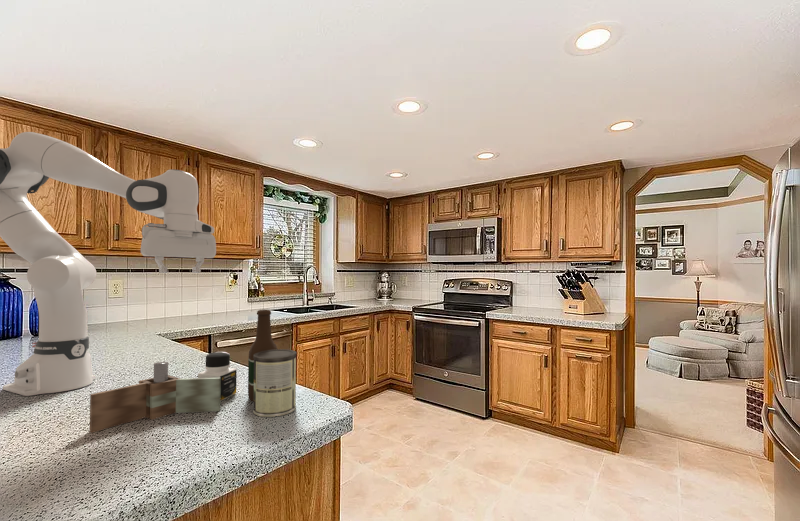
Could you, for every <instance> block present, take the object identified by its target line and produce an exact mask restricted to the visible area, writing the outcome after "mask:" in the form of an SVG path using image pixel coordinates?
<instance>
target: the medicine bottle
mask: <svg viewBox="0 0 800 521" xmlns="http://www.w3.org/2000/svg"><path fill="white" fill-rule="evenodd" d="M230 363H231V355H230V353H228V352H226V351H214V352H210V353H208V354H206V356H205V369H206V370H204V371H201V372H198V374H197V378H221V397H220V402H222V401H224V400H226V399H228V398H230V397H232V396H235V395H236V394H237V368H234V367H233V368H232V367H230V366H231V364H230Z"/></svg>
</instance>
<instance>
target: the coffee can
mask: <svg viewBox="0 0 800 521" xmlns="http://www.w3.org/2000/svg"><path fill="white" fill-rule="evenodd" d="M297 354H298V353H297V351H295V350H292V349H287V348H286V349H284V348H282V349H280V348H279V349H278V348H277V349H276V350H266V351H261V352H258V353H255V354H254V355H253V358H254V402H253V411H252V412H253V414H254V415H255V416H256V417H261V418H276V417H275V416H277V417H280V416H281V417H282V416H286V415H289V414H291V413H292V412H294V411H295V410H296V408H297V406H296V400H297V399H296V397H297V396H296V394H297V393H296V392H297V389H296V388H297V386H296V384H297V383H296V382H297V381H296V379H297V378H296V377H297V373H296V372H297Z"/></svg>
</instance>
